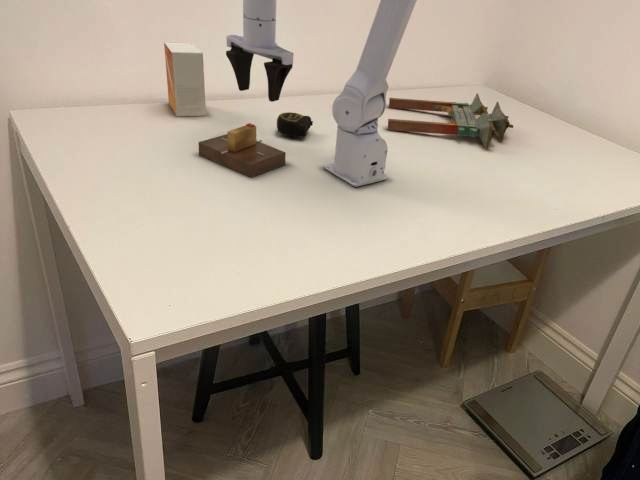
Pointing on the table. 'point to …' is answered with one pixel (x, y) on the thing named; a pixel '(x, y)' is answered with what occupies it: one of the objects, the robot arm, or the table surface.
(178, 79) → the small box
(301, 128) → the tape measure
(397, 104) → the miniature gate
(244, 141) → the thumb turn
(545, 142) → the table surface
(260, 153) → the plate
